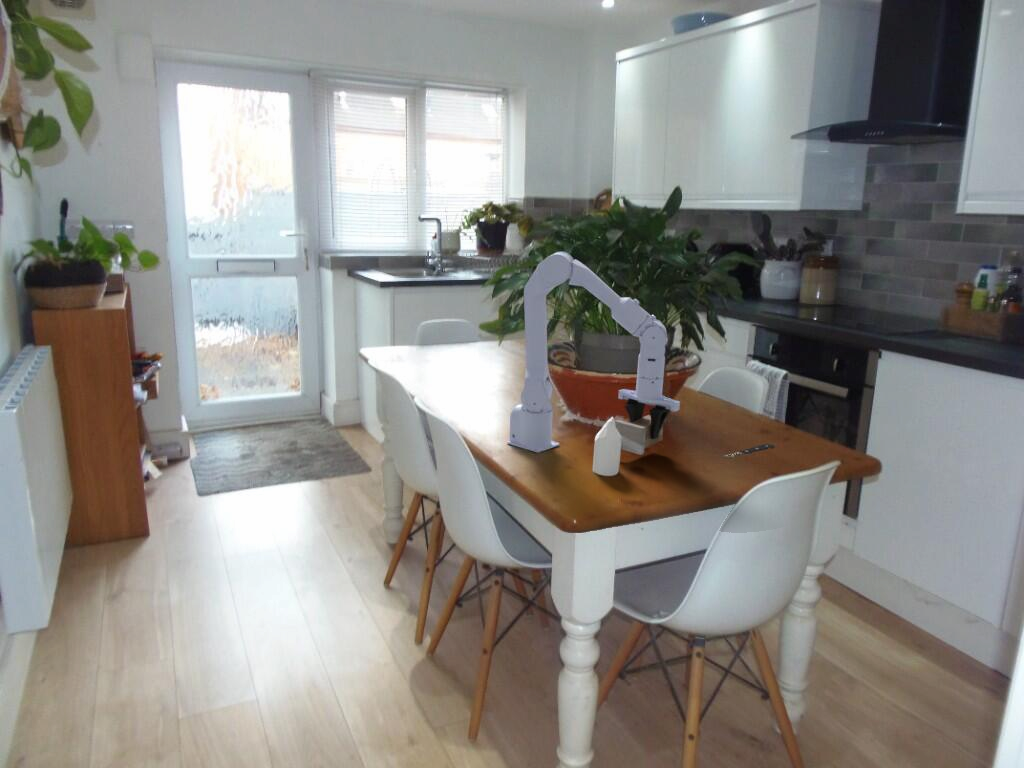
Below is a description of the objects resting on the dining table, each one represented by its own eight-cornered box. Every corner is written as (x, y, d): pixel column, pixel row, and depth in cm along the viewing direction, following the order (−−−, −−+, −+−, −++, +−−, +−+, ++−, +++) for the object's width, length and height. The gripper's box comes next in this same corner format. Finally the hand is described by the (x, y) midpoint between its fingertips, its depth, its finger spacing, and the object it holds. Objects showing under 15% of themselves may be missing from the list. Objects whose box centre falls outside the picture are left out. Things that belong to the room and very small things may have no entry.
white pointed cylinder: (592, 412, 156) (619, 412, 157) (589, 466, 159) (615, 466, 160) (599, 420, 151) (626, 420, 151) (595, 476, 153) (622, 476, 154)
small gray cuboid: (641, 434, 172) (642, 409, 170) (668, 441, 168) (669, 415, 166) (613, 447, 164) (614, 421, 162) (641, 455, 160) (642, 428, 158)
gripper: (688, 379, 161) (683, 439, 165) (632, 368, 171) (628, 424, 174) (672, 384, 156) (666, 446, 160) (614, 372, 166) (610, 431, 169)
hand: (645, 435), depth 167 cm, fingers closed on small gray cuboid, 4 cm apart
